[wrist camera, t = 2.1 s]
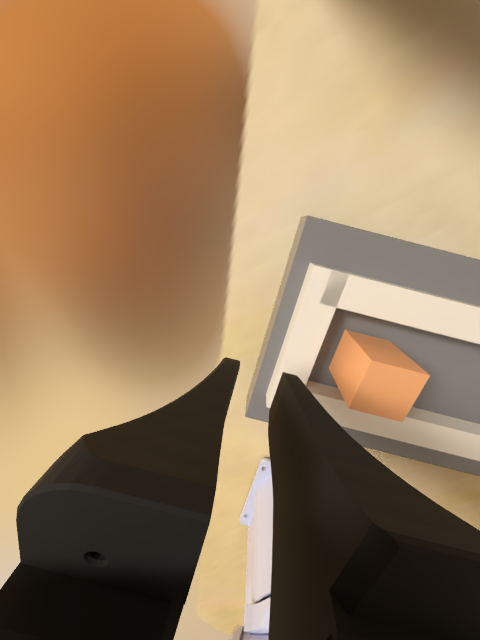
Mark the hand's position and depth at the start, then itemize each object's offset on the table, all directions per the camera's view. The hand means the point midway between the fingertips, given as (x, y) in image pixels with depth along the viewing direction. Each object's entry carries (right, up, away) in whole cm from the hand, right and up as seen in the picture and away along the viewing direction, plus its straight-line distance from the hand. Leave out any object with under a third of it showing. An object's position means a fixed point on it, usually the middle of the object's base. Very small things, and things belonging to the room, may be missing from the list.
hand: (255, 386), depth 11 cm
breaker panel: (+13, 0, +9) cm, 16 cm away
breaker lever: (+7, 0, +6) cm, 10 cm away
